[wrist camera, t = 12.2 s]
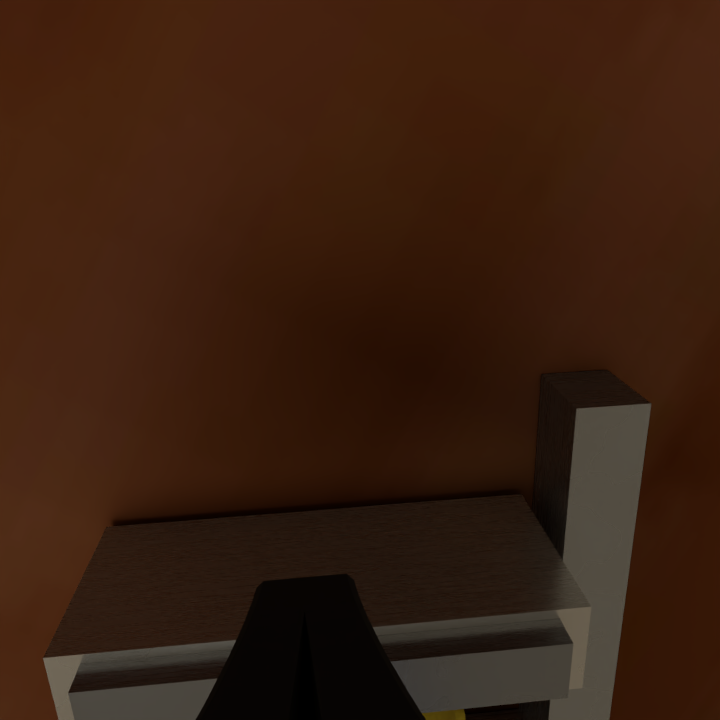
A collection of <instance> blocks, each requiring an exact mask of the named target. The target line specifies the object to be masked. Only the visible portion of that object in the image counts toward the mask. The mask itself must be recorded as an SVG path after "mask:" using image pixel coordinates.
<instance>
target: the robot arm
mask: <svg viewBox="0 0 720 720" xmlns="http://www.w3.org/2000/svg"><path fill="white" fill-rule="evenodd" d="M196 720H426V719H425V717H424V716H423V714H422V713H421V711H420V710H419V708H418V706H417V705H416V703H415V702H414V700H413V698H412V697H411V695H410V694H409V692H408V690H407V689H406V687H405V685H404V684H403V682H402V680H401V678H400V677H399V675H398V673H397V672H396V670H395V668H394V666H393V665H392V663H391V661H390V659H389V658H388V656H387V654H386V652H385V650H384V649H383V647H382V645H381V643H380V641H379V639H378V637H377V635H376V633H375V631H374V629H373V627H372V625H371V623H370V621H369V618H368V616H367V614H366V612H365V609H364V607H363V605H362V602H361V600H360V597H359V594H358V591H357V588H356V585H355V581H354V579H353V578H351V577H350V576H349V575H348V574H337V575H326V576H314V577H303V578H291V579H280V580H268V581H263V582H262V583H261V584H260V585H259V586H258V587H257V588H256V591H255V594H254V597H253V600H252V603H251V606H250V608H249V611H248V614H247V616H246V619H245V621H244V623H243V626H242V628H241V631H240V633H239V635H238V637H237V639H236V642H235V644H234V646H233V648H232V650H231V653H230V655H229V657H228V659H227V661H226V663H225V665H224V667H223V669H222V671H221V673H220V675H219V676H218V678H217V680H216V682H215V684H214V686H213V688H212V690H211V692H210V694H209V696H208V698H207V700H206V702H205V704H204V706H203V707H202V709H201V711H200V713H199V715H198V716H197V718H196Z"/></svg>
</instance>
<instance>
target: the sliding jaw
mask: <svg viewBox="0 0 720 720" xmlns="http://www.w3.org/2000/svg"><path fill="white" fill-rule="evenodd" d="M337 574H348V575H349V576H350V577H351V578H353V579H354V581H355V585H356V588H357V591H358V594H359V597H360V600H361V602H362V605H363V607H364V609H365V612H366V614H367V616H368V618H369V621H370V623H371V625H372V627H373V629H374V631H375V633H376V635H377V637H378V639H379V641H380V643H381V645H382V647H383V649H384V650H385V652H386V654H387V656H388V658H389V659H390V661H391V663H392V665H393V666H394V668H395V670H396V672H397V673H398V675H399V677H400V678H401V680H402V682H403V684H404V685H405V687H406V689H407V690H408V692H409V694H410V695H411V697H412V698H413V700H414V702H415V703H416V705H417V706H418V708H419V710H420V711H421V713H429V712H439V711H448V710H458V709H467V708H477V707H487V706H496V705H506V704H515V703H525V702H534V701H544V700H553V699H563V698H568V692H569V689H579V688H582V687H583V678H584V669H585V660H586V651H587V642H588V633H589V624H590V615H591V605H590V604H589V602H588V600H587V599H586V597H585V596H584V594H583V592H582V591H581V589H580V587H579V586H578V584H577V583H576V581H575V579H574V578H573V576H572V575H571V573H570V571H569V570H568V568H567V567H566V565H565V563H564V562H563V560H562V559H561V557H560V555H559V554H558V552H557V550H556V549H555V547H554V546H553V544H552V542H551V541H550V539H549V538H548V536H547V534H546V533H545V531H544V530H543V528H542V526H541V525H540V523H539V521H538V520H537V518H536V517H535V515H534V513H533V512H532V510H531V509H530V507H529V505H528V504H527V502H526V501H525V499H524V497H523V496H522V494H516V495H503V496H490V497H478V498H465V499H452V500H440V501H427V502H414V503H402V504H389V505H377V506H364V507H351V508H339V509H326V510H313V511H301V512H288V513H275V514H263V515H250V516H238V517H225V518H212V519H200V520H187V521H174V522H162V523H149V524H136V525H124V526H111V527H106V529H105V531H104V533H103V535H102V537H101V539H100V541H99V543H98V546H97V548H96V550H95V552H94V554H93V556H92V558H91V560H90V562H89V564H88V566H87V568H86V570H85V572H84V574H83V577H82V579H81V581H80V583H79V585H78V587H77V589H76V591H75V593H74V595H73V597H72V599H71V601H70V603H69V605H68V608H67V610H66V612H65V614H64V616H63V618H62V620H61V622H60V624H59V626H58V628H57V630H56V632H55V634H54V636H53V639H52V641H51V643H50V645H49V647H48V649H47V651H46V653H45V655H44V657H43V660H44V664H45V668H46V672H47V676H48V679H49V683H50V687H51V691H52V695H53V699H54V703H55V707H56V711H57V715H58V719H59V720H196V718H197V716H198V715H199V713H200V711H201V709H202V707H203V706H204V704H205V702H206V700H207V698H208V696H209V694H210V692H211V690H212V688H213V686H214V684H215V682H216V680H217V678H218V676H219V675H220V673H221V671H222V669H223V667H224V665H225V663H226V661H227V659H228V657H229V655H230V653H231V650H232V648H233V646H234V644H235V642H236V639H237V637H238V635H239V633H240V631H241V628H242V626H243V623H244V621H245V619H246V616H247V614H248V611H249V608H250V606H251V603H252V600H253V597H254V594H255V591H256V588H257V587H258V586H259V585H260V584H261V583H262V582H263V581H268V580H280V579H291V578H303V577H314V576H326V575H337Z"/></svg>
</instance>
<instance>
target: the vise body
mask: <svg viewBox="0 0 720 720" xmlns="http://www.w3.org/2000/svg"><path fill="white" fill-rule="evenodd" d="M650 409H651V403H650V402H649V401H647V400H646V399H645V398H643V397H642V396H641V395H640V394H638V393H637V392H636V391H634V390H633V389H632V388H630V387H629V386H628V385H626V384H625V383H624V382H622V381H621V380H620V379H619V378H617V377H616V376H615V375H613V374H612V373H611V372H609V371H608V370H599V371H583V372H568V373H552V374H542V376H541V390H540V405H539V420H538V434H537V449H536V463H535V478H534V492H533V507H532V512H533V513H534V515H535V517H536V518H537V520H538V521H539V523H540V525H541V526H542V528H543V530H544V531H545V533H546V534H547V536H548V538H549V539H550V541H551V542H552V544H553V546H554V547H555V549H556V550H557V552H558V554H559V555H560V557H561V559H562V560H563V562H564V563H565V565H566V567H567V568H568V570H569V571H570V573H571V575H572V576H573V578H574V579H575V581H576V583H577V584H578V586H579V587H580V589H581V591H582V592H583V594H584V596H585V597H586V599H587V600H588V602H589V604H590V605H591V615H590V624H589V633H588V642H587V651H586V660H585V669H584V678H583V687H582V688H579V689H569V692H568V698H563V699H553V700H544V701H534V702H525V703H519V709H513V710H503V711H494V712H484V713H475V714H465V719H466V720H609V718H610V710H611V703H612V695H613V688H614V680H615V673H616V665H617V658H618V650H619V643H620V635H621V628H622V620H623V612H624V605H625V597H626V590H627V582H628V575H629V567H630V560H631V552H632V545H633V537H634V530H635V522H636V515H637V507H638V500H639V492H640V485H641V477H642V470H643V462H644V455H645V447H646V440H647V432H648V425H649V417H650Z"/></svg>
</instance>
